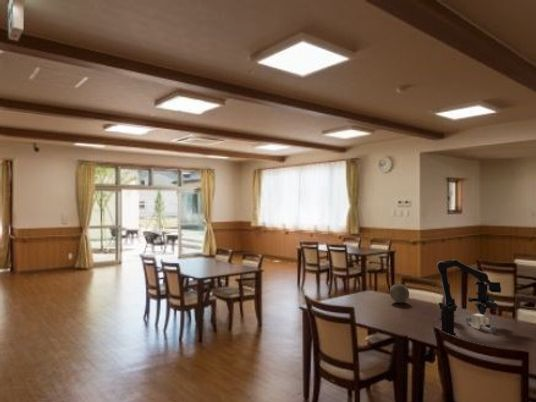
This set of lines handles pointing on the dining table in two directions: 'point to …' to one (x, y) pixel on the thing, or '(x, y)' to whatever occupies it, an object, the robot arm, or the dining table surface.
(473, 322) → the carriage
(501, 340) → the dining table surface
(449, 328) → the black fluted column
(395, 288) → the cantaloupe
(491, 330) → the rail
